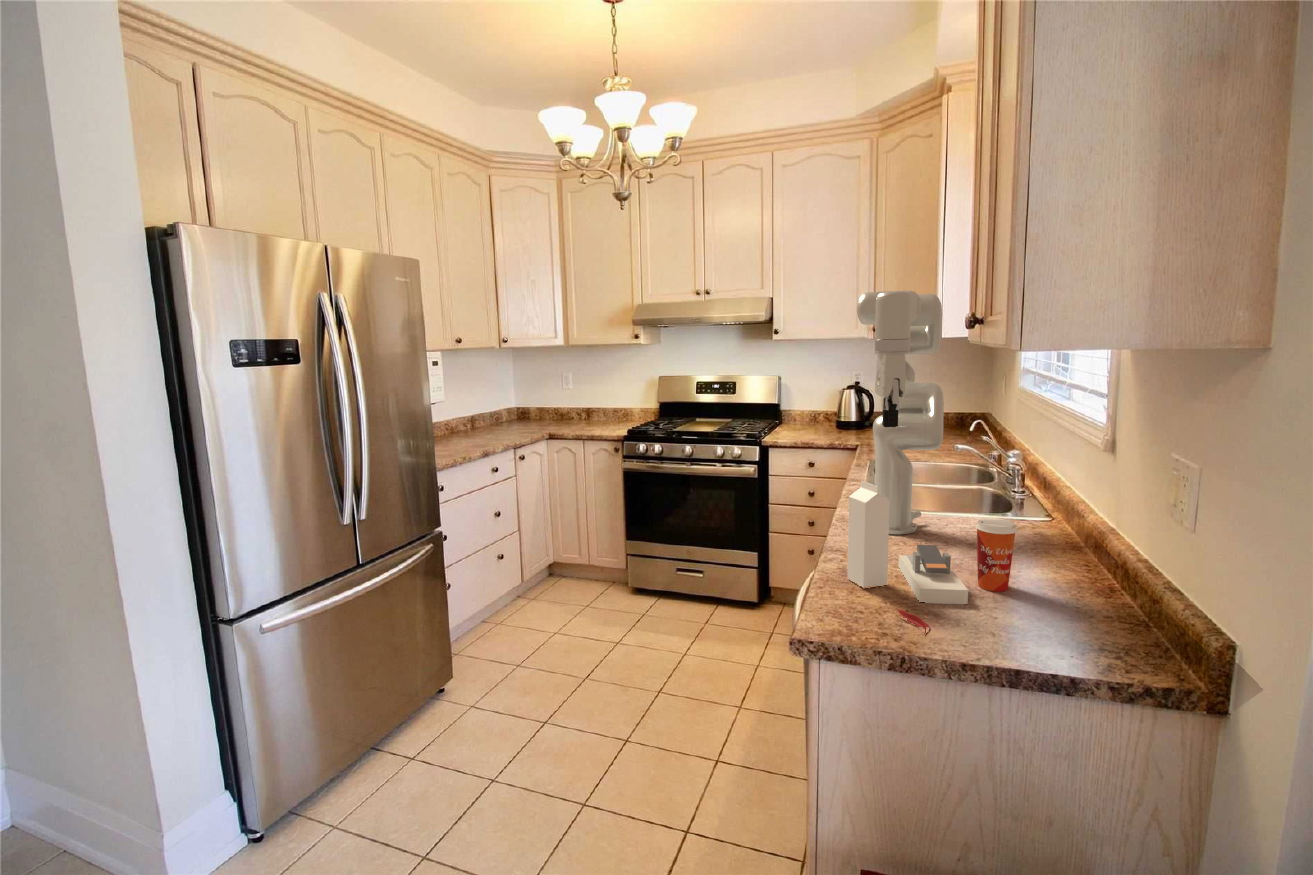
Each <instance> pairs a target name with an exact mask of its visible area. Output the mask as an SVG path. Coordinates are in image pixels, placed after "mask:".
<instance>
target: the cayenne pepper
mask: <svg viewBox="0 0 1313 875" xmlns="http://www.w3.org/2000/svg"><path fill="white" fill-rule="evenodd" d="M897 611H899V613H900V614H901V615H902V616H903V618H907V621H908V622H910V623H913V624H915V625H916V626H917V627H923V628H924V629H925V632H924V634H925V633H926V627H929V628H930V625H929V624H928V623H927V622H925V621H924V620H923V619H922V618H920V617H919V616H917V615H916V614H912V613H909V612H907V611H905V610H903V609H900V608H898V609H897ZM910 623H909V624H910ZM916 626H915V627H916ZM917 627H916V628H917ZM930 629H931V628H930ZM926 634H927V633H926Z"/></svg>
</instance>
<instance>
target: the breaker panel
mask: <svg viewBox="0 0 1313 875" xmlns="http://www.w3.org/2000/svg"><path fill="white" fill-rule="evenodd" d="M941 556H942V558H943V560H944V562H945V564H946V567H947V573H926V571H925V569H924V566H923V564H922V561H921V559H920V558H921V556H920V554H919V553H918V552H917V551H913V552H912V555H911V554H906V555H905V554H904V555H901V554H899V555H898V565H897V566H898V567H899V568H900V569H899V568H898V569H899V571H900V570H901V571H900V573H901V572H902V573H903V574H902V573H901V574H902V576H903V575H904V576H903V578H904V577H905V578H906V579H905V578H904V579H905V581H906V580H907V581H906V582H908V583H909V584H908V583H907V584H908V586H909V585H910V586H911V588H912V589H911V588H910V589H911V591H912V590H913V591H914V593H913V594H914V596H915V595H916V596H915V598H916V597H917V598H916V599H917V601H918V600H919V601H918V603H919V602H925V603H924V604H938V605H940V604H941V605H942V604H943V605H964V604H969V603H968V600H969V589H968V588H967V587H966V585H965V584H964V583H963V582H962V581H961V579H960V578H959V577H958V576H957V574H955V572H954V571H953V569H952V568H951V562H952V561H951V560H952V559H951V558H952V556H951V555H950V553H949V552H942V554H941ZM910 586H909V587H910ZM913 591H912V592H913Z"/></svg>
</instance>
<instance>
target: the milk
mask: <svg viewBox="0 0 1313 875" xmlns="http://www.w3.org/2000/svg"><path fill="white" fill-rule="evenodd" d="M889 507H890V500H889V499H887V498H886V497H884V496H882V495H880V494H879V493H878V486H876V485H875V484H872V483H870V482H868V481H863V480H861V481H860V487H859V488H858V489H857V490H855V491H854V492H853V493H851V494H850V495H849V496H848V530H847V532H848V533H847V573H846V574H847V578H848V579H850V580H851V581H853V582H855V583H857V584H858V585H859V586H862V587H868V586H880V585H886V584H887V585H888V576H889V575H888V574H889V573H888V569H889V566H888V564H889V542H890V541H889V535H890V534H889ZM847 578H846V579H847ZM859 586H858V587H859Z"/></svg>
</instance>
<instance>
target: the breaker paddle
mask: <svg viewBox="0 0 1313 875" xmlns="http://www.w3.org/2000/svg"><path fill="white" fill-rule="evenodd" d="M916 552H918V553H919V554H920V556H921V558H920V559H921V561H922V564H923V566H924V569H925V571H926V573H947V567H946V564H945V562H944V560H943V558H942V554H941V552H940V550H939V548H938V546H937V544H917V545H916Z"/></svg>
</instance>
